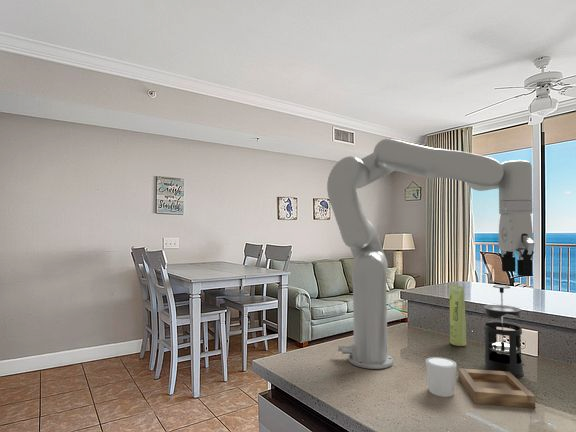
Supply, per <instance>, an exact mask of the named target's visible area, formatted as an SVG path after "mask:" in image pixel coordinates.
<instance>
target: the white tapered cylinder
mask: <svg viewBox="0 0 576 432" xmlns="http://www.w3.org/2000/svg"><path fill="white" fill-rule="evenodd" d="M425 367H426V368H425V369H426V377H427V386H428V391H429V392H430V393H431V394H433V395H435V396H439V397H442V398H444V397H445V398H447V397H449V398H450V397H453V396H454V395H455V392H456V391H455V389H456V379H457V378H456V376H457V375H456V374H457V362H456V361H454V360H452V359H450V358H447V357H446V358H445V357H440V356H432V357H428V358H426V359H425Z"/></svg>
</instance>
